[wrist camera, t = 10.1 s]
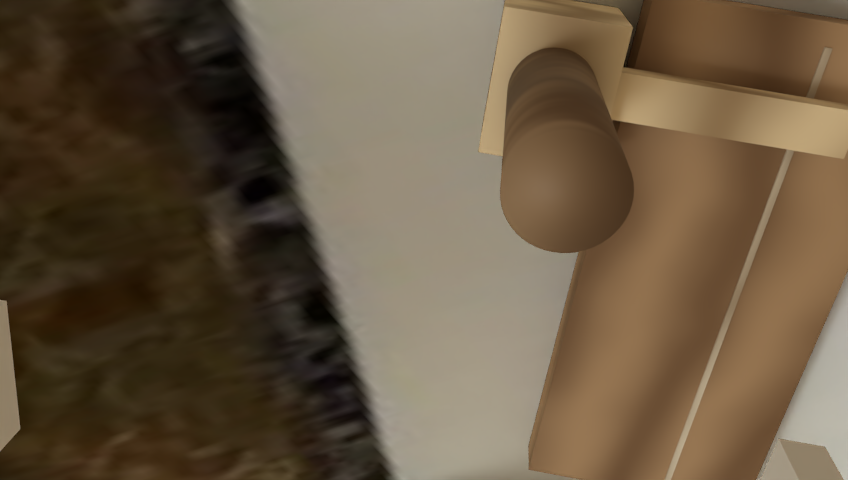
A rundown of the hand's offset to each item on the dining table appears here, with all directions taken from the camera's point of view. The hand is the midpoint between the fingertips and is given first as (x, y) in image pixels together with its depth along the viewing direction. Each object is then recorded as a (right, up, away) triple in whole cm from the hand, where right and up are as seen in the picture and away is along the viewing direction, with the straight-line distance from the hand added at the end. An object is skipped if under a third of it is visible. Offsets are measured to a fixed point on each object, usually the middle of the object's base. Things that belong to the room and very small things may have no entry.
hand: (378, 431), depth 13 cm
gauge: (+11, +10, +22) cm, 27 cm away
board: (+15, +2, +26) cm, 29 cm away
